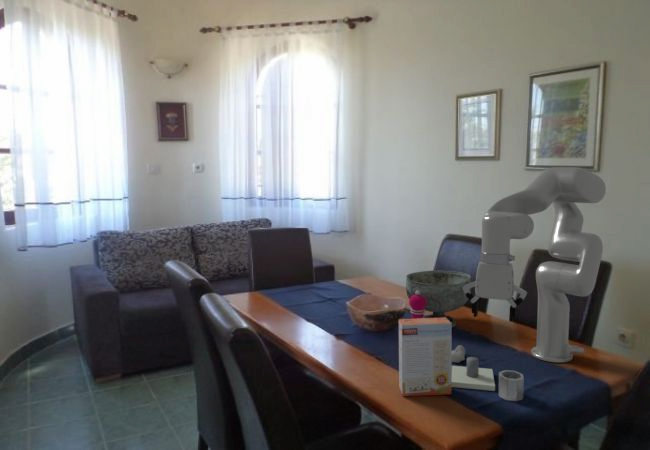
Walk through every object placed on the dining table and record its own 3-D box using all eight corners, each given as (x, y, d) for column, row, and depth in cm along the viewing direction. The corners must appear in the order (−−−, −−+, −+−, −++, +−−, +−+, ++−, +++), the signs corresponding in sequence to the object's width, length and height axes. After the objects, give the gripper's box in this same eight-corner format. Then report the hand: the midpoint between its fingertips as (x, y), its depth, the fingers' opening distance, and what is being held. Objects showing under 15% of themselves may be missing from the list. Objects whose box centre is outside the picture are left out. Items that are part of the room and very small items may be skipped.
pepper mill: (427, 349, 174) (428, 293, 171) (406, 348, 175) (406, 292, 173) (427, 342, 181) (428, 288, 178) (407, 341, 182) (407, 287, 180)
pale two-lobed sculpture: (457, 368, 161) (443, 360, 164) (468, 360, 167) (455, 352, 170) (461, 357, 160) (447, 349, 163) (472, 349, 165) (459, 341, 168)
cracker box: (446, 385, 146) (447, 316, 143) (451, 395, 140) (453, 323, 137) (398, 387, 146) (398, 317, 143) (402, 397, 140) (402, 324, 137)
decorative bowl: (472, 336, 185) (472, 282, 183) (402, 332, 191) (401, 281, 190) (471, 317, 210) (470, 270, 209) (409, 314, 217) (408, 269, 215)
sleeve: (521, 391, 142) (521, 371, 141) (523, 402, 136) (524, 380, 135) (497, 389, 143) (498, 369, 142) (499, 399, 137) (500, 378, 136)
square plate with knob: (492, 373, 154) (492, 353, 153) (494, 391, 142) (495, 369, 142) (451, 370, 157) (452, 350, 156) (451, 386, 145) (451, 365, 145)
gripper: (529, 258, 140) (526, 318, 142) (465, 254, 148) (464, 310, 150) (527, 263, 134) (524, 325, 136) (461, 258, 141) (459, 317, 143)
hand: (493, 317), depth 143 cm, fingers open, 9 cm apart
